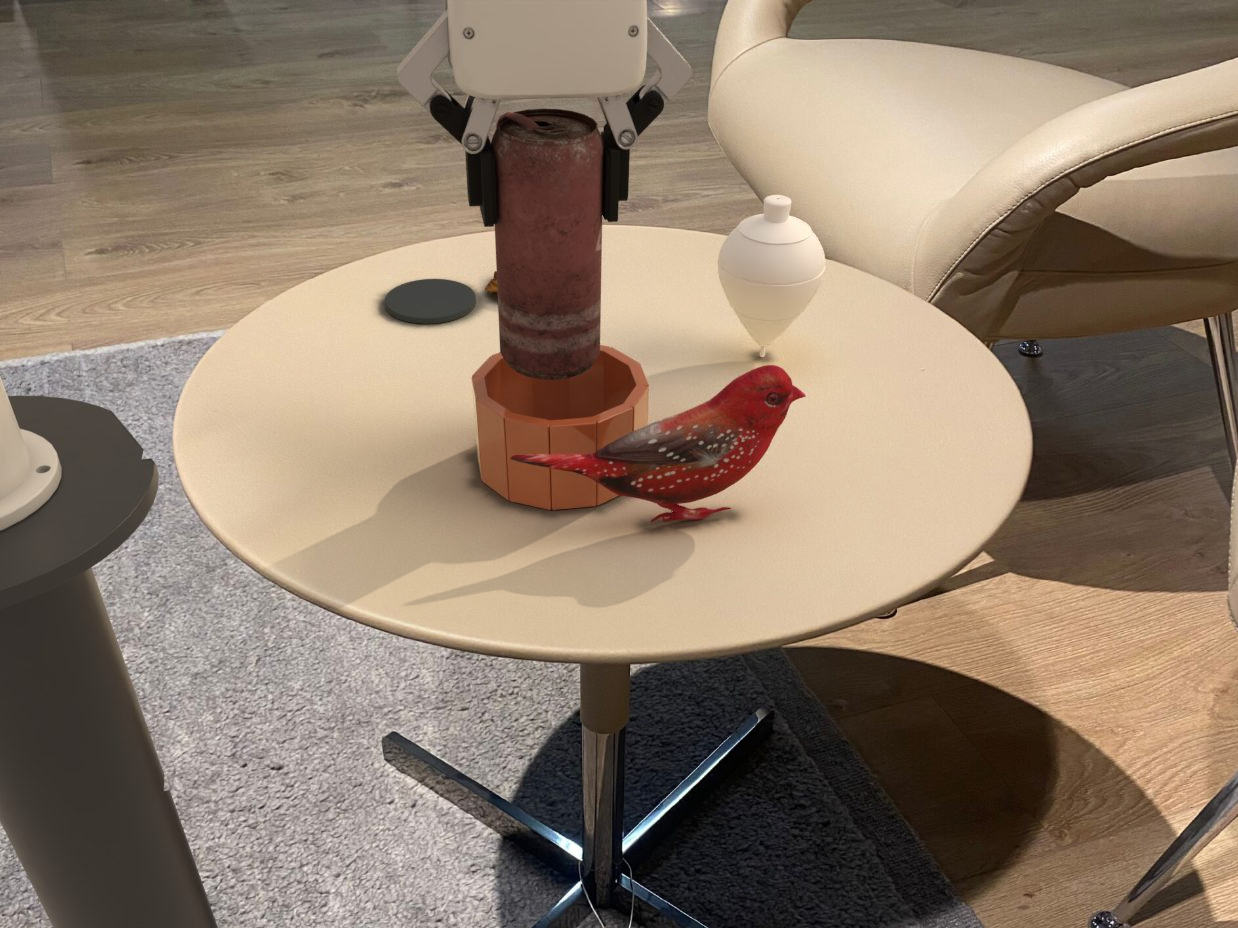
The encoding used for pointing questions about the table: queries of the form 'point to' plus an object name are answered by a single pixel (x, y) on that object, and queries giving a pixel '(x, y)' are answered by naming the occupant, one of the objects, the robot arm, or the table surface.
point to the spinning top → (770, 270)
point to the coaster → (430, 301)
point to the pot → (554, 426)
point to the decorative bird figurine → (690, 446)
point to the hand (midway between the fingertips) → (548, 212)
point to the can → (548, 241)
